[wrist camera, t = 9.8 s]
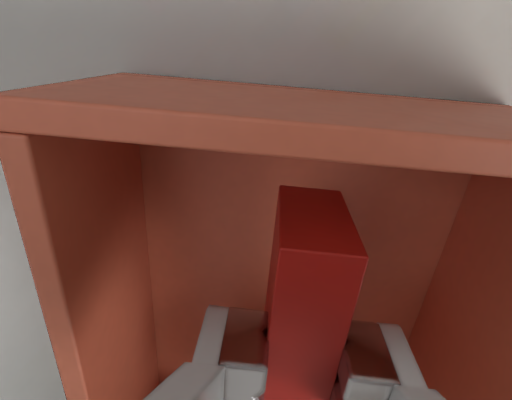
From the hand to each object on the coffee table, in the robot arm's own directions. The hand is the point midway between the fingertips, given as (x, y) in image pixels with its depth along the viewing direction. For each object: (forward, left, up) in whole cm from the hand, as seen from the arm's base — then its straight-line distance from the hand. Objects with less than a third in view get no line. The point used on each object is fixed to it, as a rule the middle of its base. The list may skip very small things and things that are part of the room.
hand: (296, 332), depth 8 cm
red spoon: (+2, 0, -2) cm, 3 cm away
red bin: (+2, 0, -4) cm, 4 cm away
